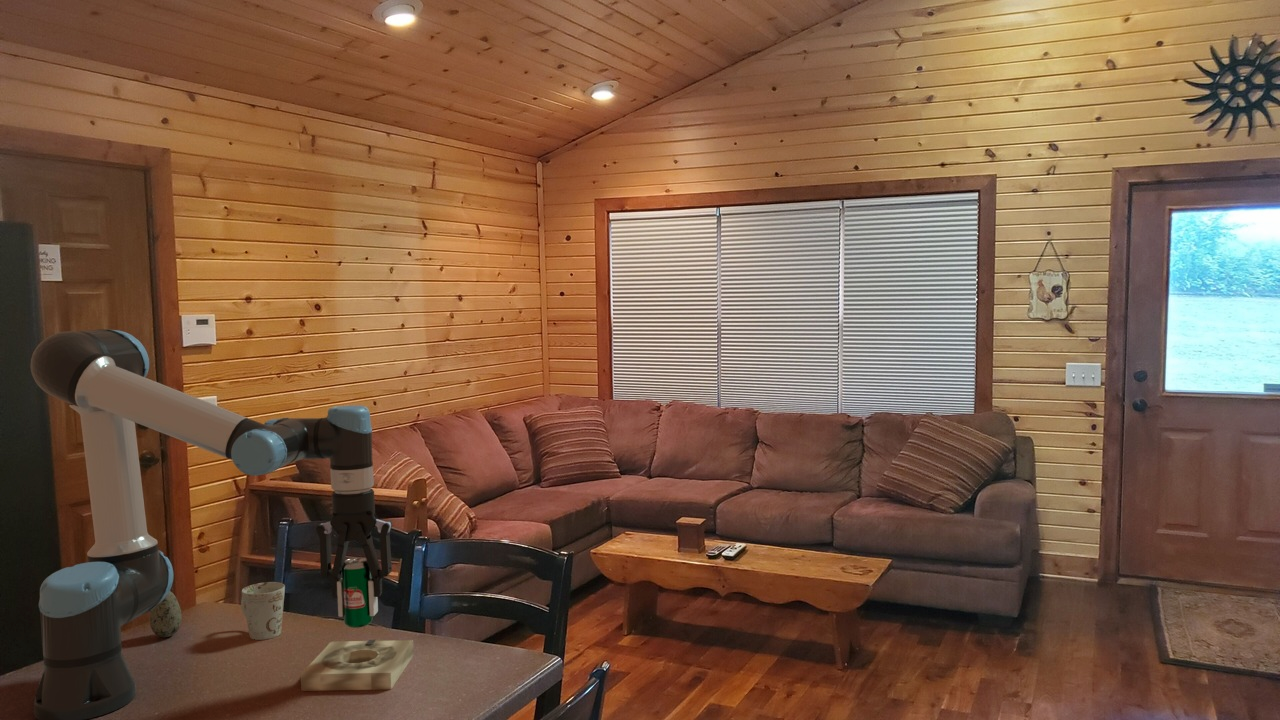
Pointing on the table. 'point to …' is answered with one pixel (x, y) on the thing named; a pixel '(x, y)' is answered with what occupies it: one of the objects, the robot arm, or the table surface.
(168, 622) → the decorative egg
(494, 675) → the table surface
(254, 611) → the mug
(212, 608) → the table surface
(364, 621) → the soda can
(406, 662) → the hub block
